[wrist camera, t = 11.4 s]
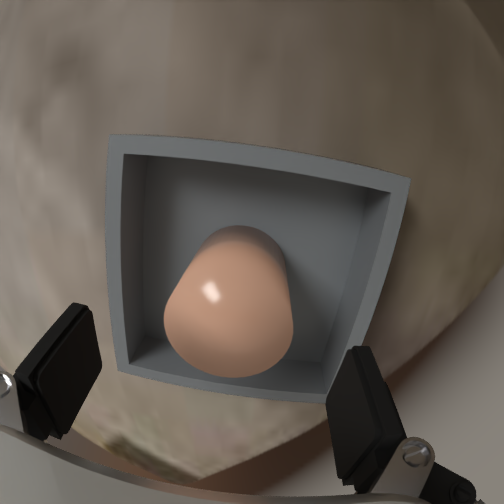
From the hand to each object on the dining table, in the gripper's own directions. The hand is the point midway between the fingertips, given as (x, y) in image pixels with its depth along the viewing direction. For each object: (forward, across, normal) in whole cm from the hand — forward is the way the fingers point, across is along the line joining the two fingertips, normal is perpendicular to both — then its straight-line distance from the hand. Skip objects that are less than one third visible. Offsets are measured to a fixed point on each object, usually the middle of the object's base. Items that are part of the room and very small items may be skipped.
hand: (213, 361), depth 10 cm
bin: (+11, -1, +1) cm, 11 cm away
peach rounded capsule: (+10, 0, +1) cm, 10 cm away
